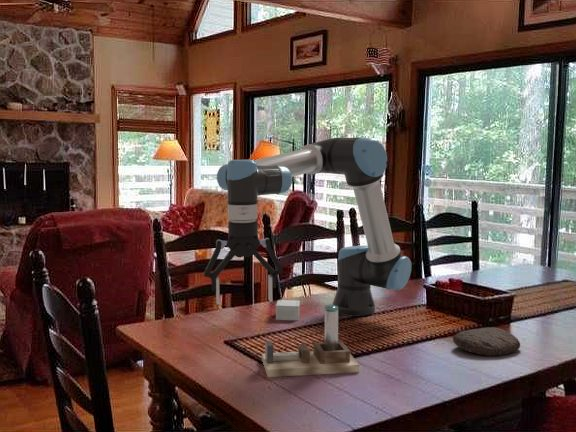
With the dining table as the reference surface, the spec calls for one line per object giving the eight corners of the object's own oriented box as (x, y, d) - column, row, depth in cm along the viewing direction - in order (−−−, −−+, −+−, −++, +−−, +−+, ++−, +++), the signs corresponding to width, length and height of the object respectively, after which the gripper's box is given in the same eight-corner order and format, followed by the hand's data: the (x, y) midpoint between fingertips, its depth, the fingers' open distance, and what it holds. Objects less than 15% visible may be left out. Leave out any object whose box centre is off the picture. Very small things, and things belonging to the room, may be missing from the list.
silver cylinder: (336, 355, 164) (336, 304, 163) (339, 359, 161) (339, 307, 160) (323, 355, 164) (323, 304, 163) (326, 360, 160) (326, 308, 159)
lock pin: (297, 356, 163) (297, 339, 162) (299, 361, 159) (299, 344, 158) (265, 358, 161) (265, 341, 161) (267, 362, 158) (267, 345, 157)
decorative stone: (481, 363, 166) (482, 345, 166) (444, 347, 178) (445, 331, 178) (529, 351, 176) (530, 334, 175) (490, 337, 188) (491, 322, 187)
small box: (298, 321, 203) (298, 306, 203) (275, 320, 204) (275, 305, 203) (299, 314, 211) (299, 300, 210) (277, 313, 211) (277, 299, 211)
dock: (346, 356, 170) (347, 337, 169) (359, 372, 158) (359, 352, 157) (261, 360, 165) (261, 341, 165) (267, 377, 154) (268, 356, 153)
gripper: (193, 224, 149) (195, 308, 152) (293, 221, 153) (294, 303, 155) (193, 220, 156) (195, 300, 159) (289, 217, 160) (289, 295, 163)
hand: (244, 301), depth 157 cm, fingers open, 13 cm apart
